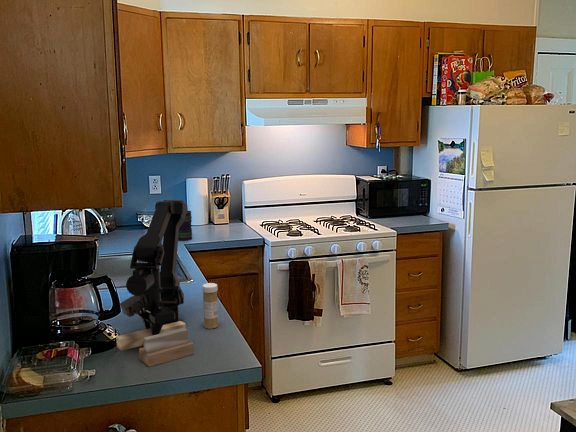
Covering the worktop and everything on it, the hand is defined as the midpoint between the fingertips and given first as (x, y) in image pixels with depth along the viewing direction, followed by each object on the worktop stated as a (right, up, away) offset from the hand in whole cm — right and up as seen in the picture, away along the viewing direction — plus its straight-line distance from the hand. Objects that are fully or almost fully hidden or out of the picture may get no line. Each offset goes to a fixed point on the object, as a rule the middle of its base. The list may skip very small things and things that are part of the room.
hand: (152, 337), depth 164 cm
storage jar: (-17, +22, +140) cm, 142 cm away
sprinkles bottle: (+15, +1, +11) cm, 19 cm away
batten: (0, -1, 0) cm, 1 cm away
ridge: (+7, -3, -11) cm, 13 cm away
